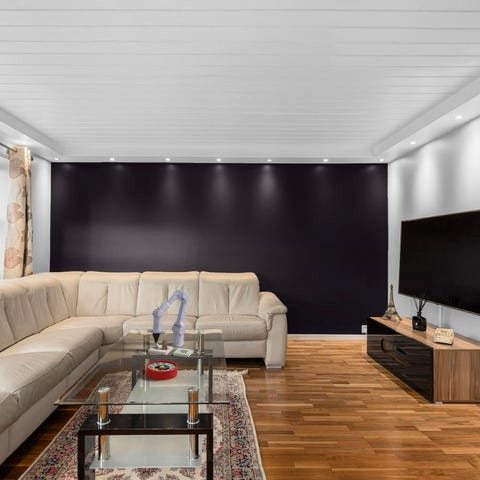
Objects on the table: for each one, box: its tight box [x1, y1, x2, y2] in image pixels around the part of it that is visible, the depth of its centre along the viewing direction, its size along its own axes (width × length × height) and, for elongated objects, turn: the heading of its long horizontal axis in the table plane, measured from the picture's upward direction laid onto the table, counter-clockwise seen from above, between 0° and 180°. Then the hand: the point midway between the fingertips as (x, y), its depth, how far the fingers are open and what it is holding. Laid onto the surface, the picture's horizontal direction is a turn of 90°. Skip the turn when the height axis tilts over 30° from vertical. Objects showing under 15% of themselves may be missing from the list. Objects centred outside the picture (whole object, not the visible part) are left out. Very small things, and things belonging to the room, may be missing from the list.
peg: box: [161, 339, 169, 350], centre depth 313 cm, size 4×4×8 cm
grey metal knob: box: [152, 342, 160, 348], centre depth 314 cm, size 4×4×3 cm
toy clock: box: [145, 359, 179, 381], centre depth 269 cm, size 20×6×20 cm
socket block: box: [147, 344, 174, 356], centre depth 314 cm, size 14×14×2 cm
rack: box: [172, 347, 195, 358], centre depth 310 cm, size 12×12×2 cm
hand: (156, 342), depth 314 cm, fingers closed
